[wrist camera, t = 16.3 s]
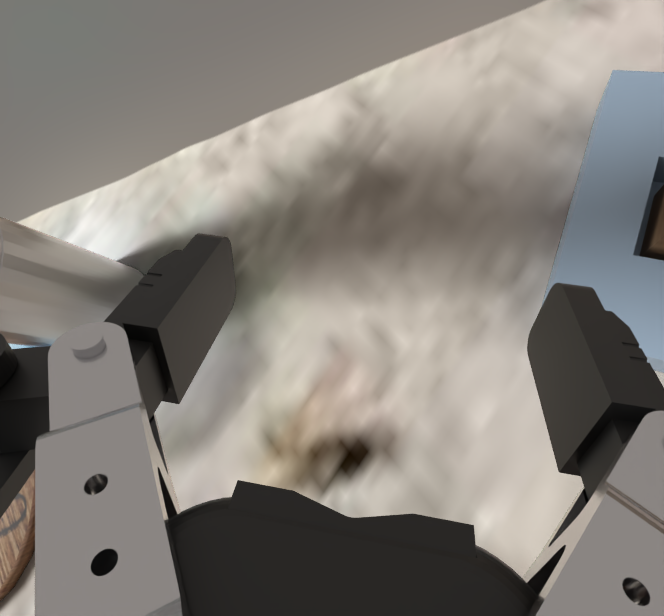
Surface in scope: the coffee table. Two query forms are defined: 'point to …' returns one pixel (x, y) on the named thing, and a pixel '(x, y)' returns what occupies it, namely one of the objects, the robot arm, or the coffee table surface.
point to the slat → (655, 229)
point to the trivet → (17, 536)
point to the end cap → (620, 209)
